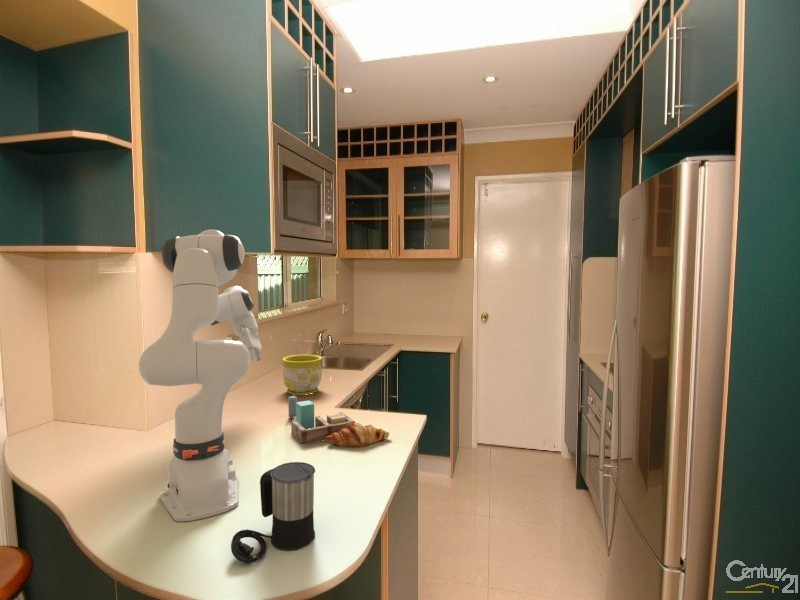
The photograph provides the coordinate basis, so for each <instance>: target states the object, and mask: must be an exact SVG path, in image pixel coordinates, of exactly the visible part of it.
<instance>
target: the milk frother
mask: <svg viewBox="0 0 800 600" xmlns="http://www.w3.org/2000/svg"><path fill="white" fill-rule="evenodd" d="M315 472H316V468H315V466H313V464H310V463H307V462H304V461H303V462H301V461H295V462H293V461H291V462H286V463H282V464H280V465H278V466H275V467H274V468H271V469H269V470H267V471H265V472H264V473H263V474H261V477H260V478H259V479H260V480H259V485H260V486H259V490H260V491H259V492H260V505H261V508H260V509H261V515H262V516H263V518H267V517H270V516H272V526H271V535H267V534H264V533H262V532H259V531H256V530H252V529H242V530H240V531H237V532H236V533H235V534H234V535H233V536H232V539H231V543H230V549H231V554H232V555H233V558H235V559H236V560H237V561H239V562H240V563H241V562H242V563H244V564H245V563H246V564H249V563H251V564H252V563H254V562H257V561H259V560H260V559H262V558H263V557H264V556H265V554H266V552H267V551H266V550H267V545H268V544H267V541H266V540H265V538H269V539H270V543H271V545H272V546H273V547H275V548H276V549H279V550H281V549H282V550H283V551H295V549H296V550H299V548H300V549H302V548H305V547H307V546H308V545H309V543H310V542H311V541H312V540H313V541H314V539H315V537H316V531H315V527H314V524H315V523H314V521H315V520H314V503H315V502H314V501H315V499H314V494H315V491H314V490H315V488H314V487H315V484H314V482H315V475H314V474H315ZM244 538H251V539H254V540H255V541H256V542H257V543H258V544H259V546H260V547H259V551H258V552H257V553H256V554H255V553H254V549H255V547H254V546H250V545H248V544H247V543H246V542H245V543H243V542H242V541H241V539H244ZM313 541H312V542H313ZM312 542H311V543H312ZM311 543H310V544H311ZM306 545H307V546H306ZM304 546H305V547H304Z"/></svg>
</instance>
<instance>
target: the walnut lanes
mask: <svg viewBox="0 0 800 600" xmlns="http://www.w3.org/2000/svg"><path fill="white" fill-rule="evenodd" d="M338 413H341V414H342V415H344V416H345V422H342V423H336V424H331V425H330V424H329V423H327V420H325V419H323V417H321V416H320V415H316V416H314V428H310V429H305V428H303V427H302V426H301V425H300V424H299V423H298V422H297V421H296V420H294V419H292V420H291V421H290V422H291V423H290V426H291V427H290V428H291V434H292V436H294V438H295V437H296V438H297V439H298V440H299V441H300V442H301V443H300V442H299V441H298V440H297V439H296V438H295V439H296V440H297V441H298V442H299V443H300V444H301V445H302V444H305V445H309V444H308V443H310V444H314V443H313V442H315V443H318V441H319V442H323V441H322V440H324V441H327V439H326V437H327V436H330V435H331V434H333V433H338V432H339V430H340V429H342V428H346V425H348V424H349V423H356V421H355V420H354V419H352V418H351V417H349V416H348V415H346V414H345V413H344V412H343V411H341V412H338Z"/></svg>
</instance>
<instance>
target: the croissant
mask: <svg viewBox="0 0 800 600" xmlns="http://www.w3.org/2000/svg"><path fill="white" fill-rule="evenodd" d="M389 436H390V432H389V431H385V429H383V428H377V427H374V425H372V424H369V425H362V423H361V422H355V423H349V424H348V425H346V428H342V429H340V430H339V432H338V433H333V434H331V435H330V436H327V437H326V439H327V440H326V441H327V442H328V443H331V444H333V445H337V446H340V447H342V446H343V447H350V448H352V447H353V446H356V447H364V445H365V446H369V445H371V444H376V443H378V442H380V441H384V440H386V439H388V438H389ZM368 444H369V445H368ZM353 448H354V447H353Z"/></svg>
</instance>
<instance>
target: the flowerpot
mask: <svg viewBox="0 0 800 600" xmlns="http://www.w3.org/2000/svg"><path fill="white" fill-rule="evenodd" d="M322 360H323V357H322V356H320V355H317V354H294V355H293V354H292V355H287V356H284V357H283V358H282V362H283V371H282V380H283V383H284V385H285V387H286V388H287V389H286V391H287V393H290V394H289V395H291V394H294V395H305V394H310V393H314V392H316V393H317V391H319V385H320V383H321V381H322V377H323V374H322V362H321V361H322ZM314 394H315V393H314ZM294 395H293V396H294Z"/></svg>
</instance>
